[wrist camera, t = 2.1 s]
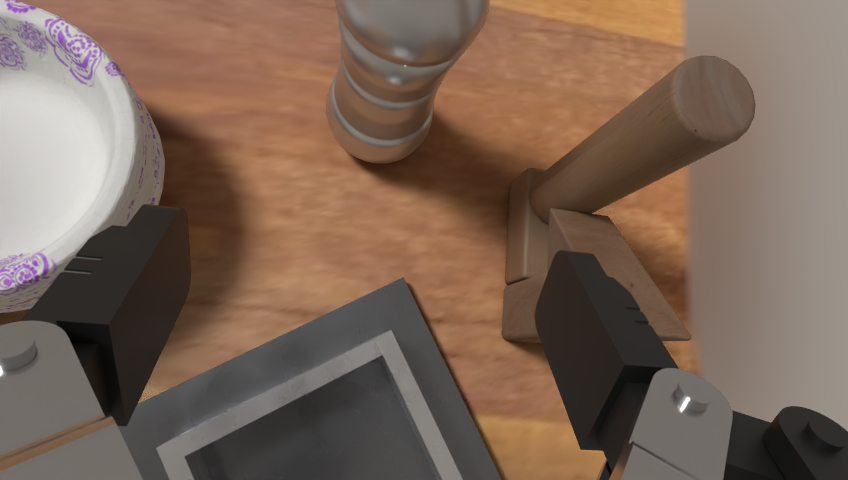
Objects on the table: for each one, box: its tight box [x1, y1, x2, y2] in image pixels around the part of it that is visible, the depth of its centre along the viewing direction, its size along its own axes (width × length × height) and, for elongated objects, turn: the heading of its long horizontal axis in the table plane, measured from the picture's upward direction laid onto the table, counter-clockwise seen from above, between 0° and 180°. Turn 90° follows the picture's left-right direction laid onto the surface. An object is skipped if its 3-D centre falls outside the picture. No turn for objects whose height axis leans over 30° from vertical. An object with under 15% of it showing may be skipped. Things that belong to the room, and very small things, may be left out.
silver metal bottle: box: [326, 0, 490, 164], centre depth 27 cm, size 6×7×20 cm
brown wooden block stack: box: [502, 56, 755, 344], centre depth 28 cm, size 4×11×18 cm, turn 175°
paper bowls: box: [0, 0, 165, 313], centre depth 28 cm, size 15×15×8 cm
